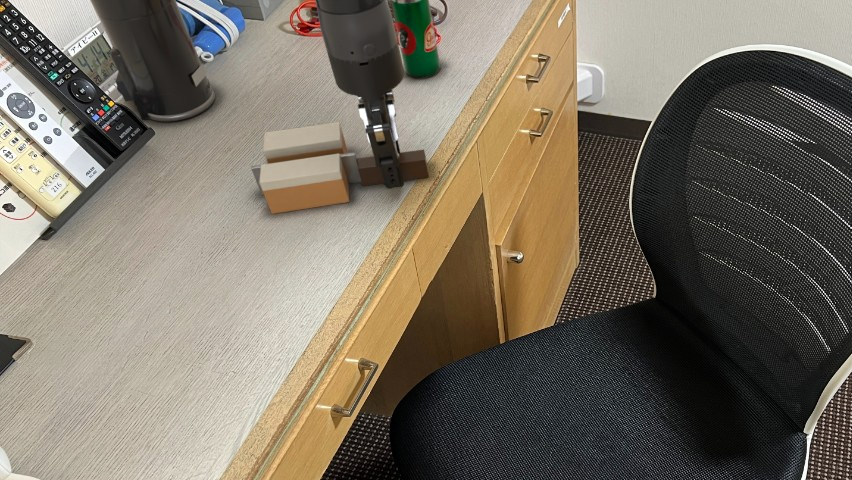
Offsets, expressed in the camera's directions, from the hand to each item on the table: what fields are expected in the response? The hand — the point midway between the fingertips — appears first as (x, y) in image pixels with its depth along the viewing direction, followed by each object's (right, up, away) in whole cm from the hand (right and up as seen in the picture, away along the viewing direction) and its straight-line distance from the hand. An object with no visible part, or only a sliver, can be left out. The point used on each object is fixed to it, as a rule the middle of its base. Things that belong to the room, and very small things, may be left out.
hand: (393, 170), depth 100 cm
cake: (-11, +1, +3) cm, 11 cm away
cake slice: (-9, -4, -2) cm, 10 cm away
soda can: (0, +18, +18) cm, 26 cm away
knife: (-6, -2, 0) cm, 6 cm away
